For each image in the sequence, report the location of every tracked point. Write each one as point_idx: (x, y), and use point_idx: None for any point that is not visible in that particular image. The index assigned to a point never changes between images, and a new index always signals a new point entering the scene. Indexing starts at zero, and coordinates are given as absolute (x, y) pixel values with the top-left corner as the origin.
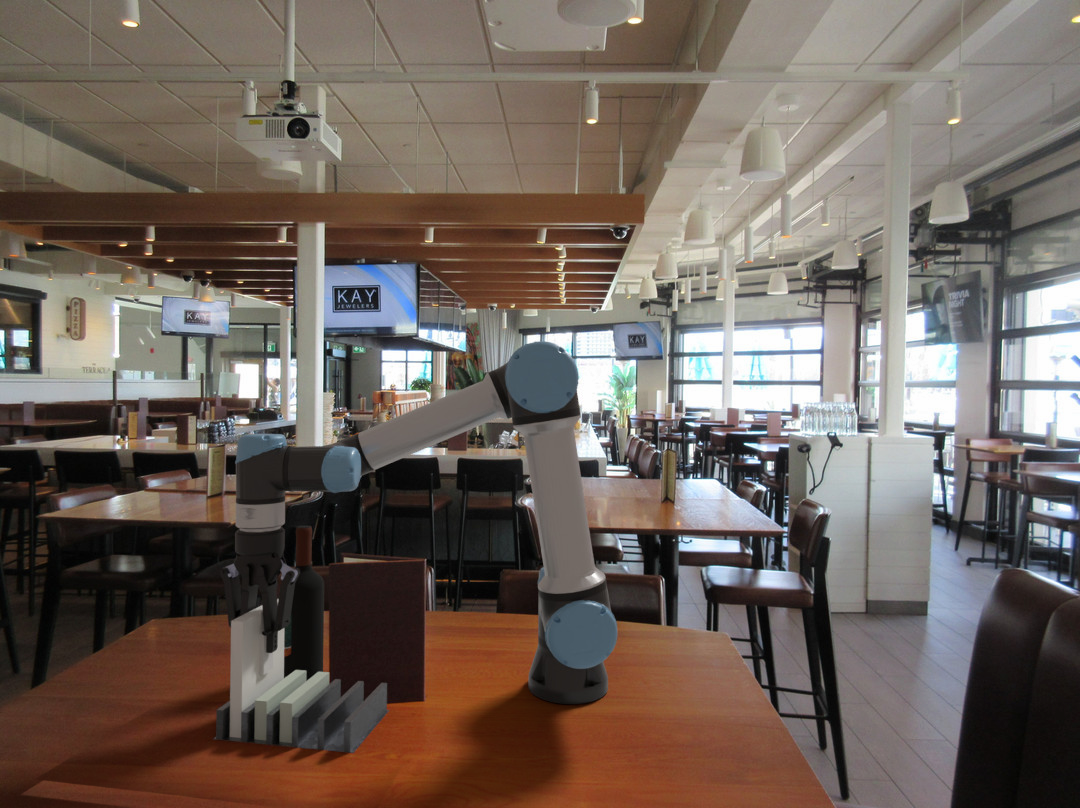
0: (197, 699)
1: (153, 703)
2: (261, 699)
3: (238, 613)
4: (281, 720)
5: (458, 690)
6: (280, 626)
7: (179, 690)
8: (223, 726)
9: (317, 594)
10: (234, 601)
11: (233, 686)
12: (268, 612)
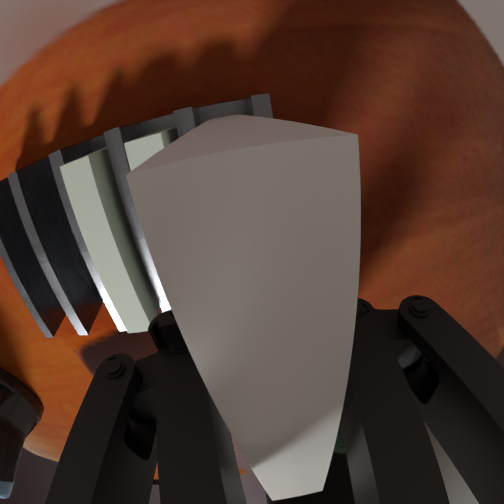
0: (412, 241)
1: (457, 209)
2: (147, 146)
3: (426, 380)
4: (102, 149)
5: (68, 377)
6: (99, 373)
7: (446, 254)
8: (247, 102)
9: (268, 501)
10: (480, 423)
11: (235, 117)
12: (168, 447)
